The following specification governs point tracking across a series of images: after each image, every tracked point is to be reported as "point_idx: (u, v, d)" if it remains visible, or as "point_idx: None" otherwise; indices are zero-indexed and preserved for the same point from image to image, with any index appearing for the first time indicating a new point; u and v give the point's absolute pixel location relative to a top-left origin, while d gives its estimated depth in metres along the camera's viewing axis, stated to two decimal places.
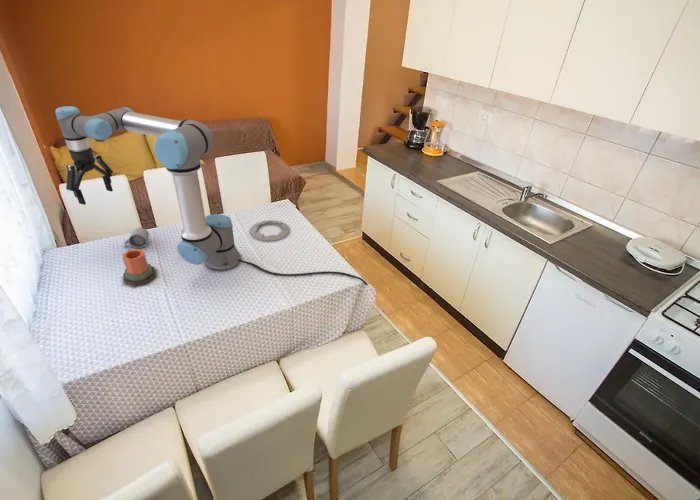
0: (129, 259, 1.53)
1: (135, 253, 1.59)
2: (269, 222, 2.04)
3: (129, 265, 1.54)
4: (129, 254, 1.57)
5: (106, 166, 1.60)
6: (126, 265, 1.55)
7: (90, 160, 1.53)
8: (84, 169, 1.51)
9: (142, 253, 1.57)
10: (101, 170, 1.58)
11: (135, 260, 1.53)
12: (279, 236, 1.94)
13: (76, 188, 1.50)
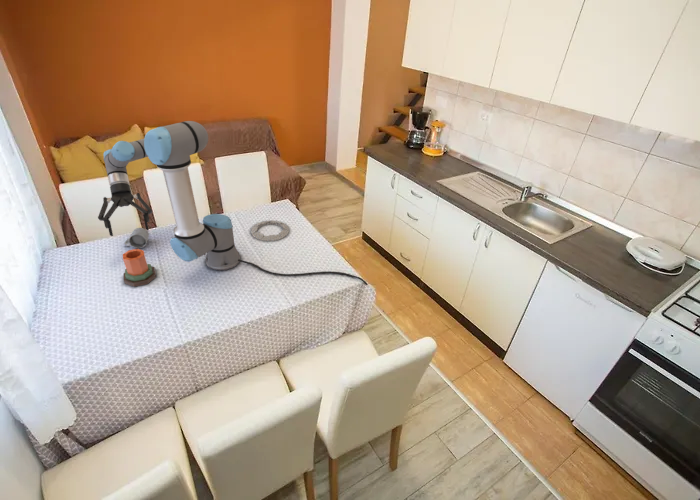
0: (129, 259, 1.53)
1: (135, 253, 1.59)
2: (269, 222, 2.04)
3: (129, 265, 1.54)
4: (129, 254, 1.57)
5: (144, 204, 1.64)
6: (126, 265, 1.55)
7: (126, 195, 1.62)
8: (116, 201, 1.60)
9: (142, 253, 1.57)
10: (137, 206, 1.63)
11: (135, 260, 1.53)
12: (279, 236, 1.94)
13: (104, 217, 1.57)
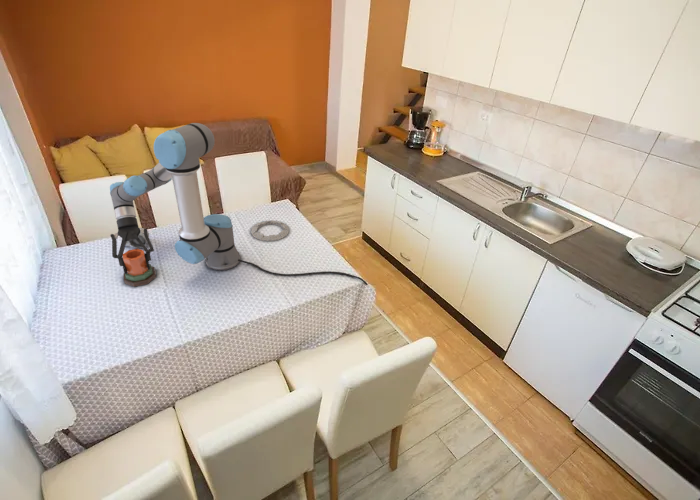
0: (129, 259, 1.53)
1: (135, 253, 1.59)
2: (269, 222, 2.04)
3: (129, 265, 1.54)
4: (129, 254, 1.57)
5: (148, 241, 1.60)
6: (126, 265, 1.55)
7: (133, 229, 1.58)
8: (124, 236, 1.56)
9: (142, 253, 1.57)
10: (141, 243, 1.58)
11: (135, 260, 1.53)
12: (279, 236, 1.94)
13: (118, 255, 1.54)
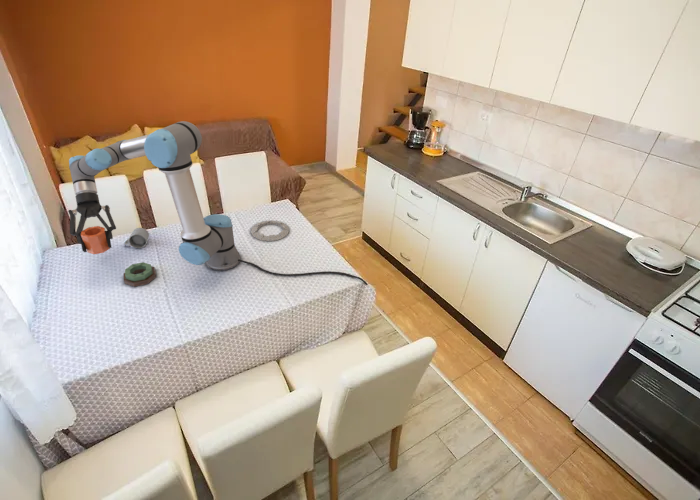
0: (87, 236, 1.45)
1: (95, 231, 1.50)
2: (269, 222, 2.04)
3: (88, 242, 1.46)
4: (89, 231, 1.49)
5: (109, 218, 1.51)
6: (85, 243, 1.47)
7: (93, 205, 1.50)
8: (83, 212, 1.48)
9: (103, 230, 1.49)
10: (101, 220, 1.50)
11: (94, 237, 1.45)
12: (279, 236, 1.94)
13: (76, 232, 1.46)
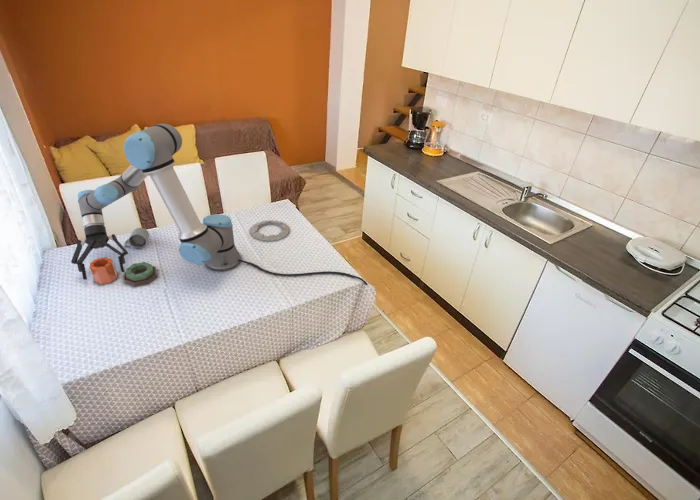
0: (96, 268, 1.53)
1: (103, 261, 1.59)
2: (269, 222, 2.04)
3: (96, 274, 1.54)
4: (97, 263, 1.58)
5: (119, 245, 1.60)
6: (93, 274, 1.55)
7: (101, 237, 1.58)
8: (90, 244, 1.56)
9: (110, 261, 1.57)
10: (112, 248, 1.59)
11: (102, 268, 1.54)
12: (279, 236, 1.94)
13: (78, 261, 1.54)
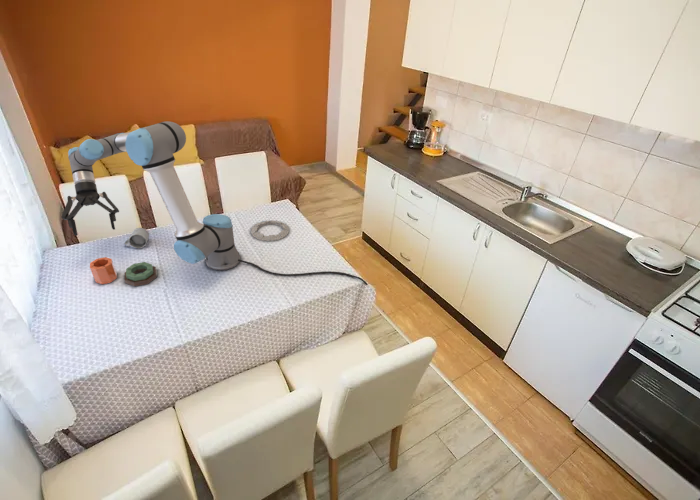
0: (96, 268, 1.53)
1: (103, 261, 1.59)
2: (269, 222, 2.04)
3: (96, 274, 1.54)
4: (97, 263, 1.58)
5: (110, 202, 1.61)
6: (93, 274, 1.55)
7: (91, 194, 1.59)
8: (80, 200, 1.57)
9: (110, 261, 1.57)
10: (103, 205, 1.60)
11: (102, 268, 1.54)
12: (279, 236, 1.94)
13: (68, 216, 1.54)
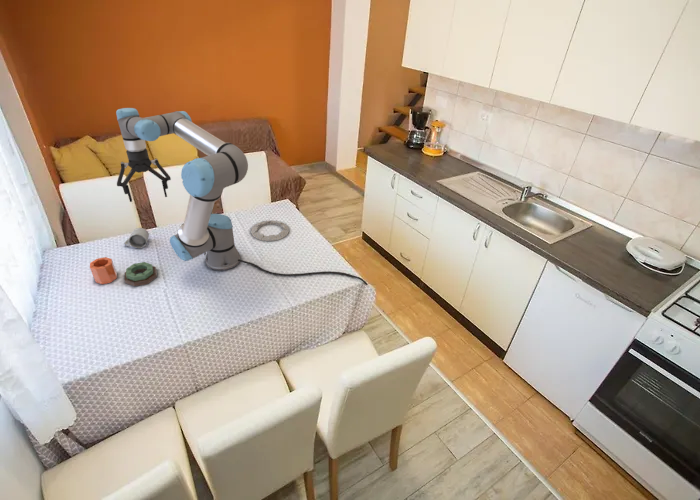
0: (96, 268, 1.53)
1: (103, 261, 1.59)
2: (269, 222, 2.04)
3: (96, 274, 1.54)
4: (97, 263, 1.58)
5: (163, 172, 1.59)
6: (93, 274, 1.55)
7: (144, 162, 1.54)
8: (134, 169, 1.53)
9: (110, 261, 1.57)
10: (156, 174, 1.58)
11: (102, 268, 1.54)
12: (279, 236, 1.94)
13: (123, 185, 1.55)
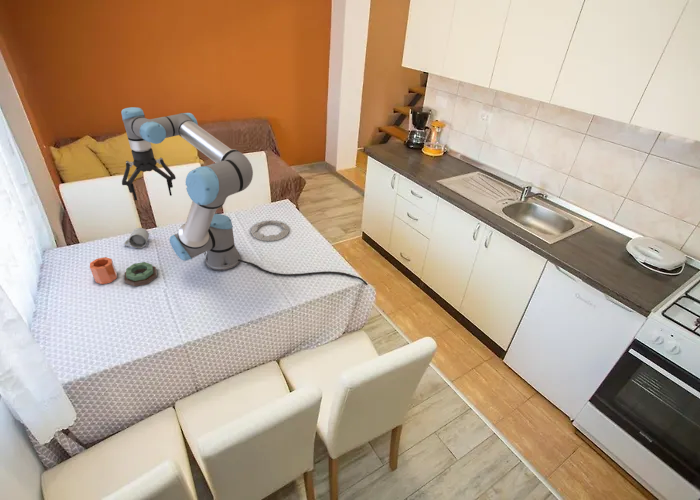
0: (96, 268, 1.53)
1: (103, 261, 1.59)
2: (269, 222, 2.04)
3: (96, 274, 1.54)
4: (97, 263, 1.58)
5: (168, 171, 1.59)
6: (93, 274, 1.55)
7: (149, 162, 1.54)
8: (139, 168, 1.53)
9: (110, 261, 1.57)
10: (161, 173, 1.58)
11: (102, 268, 1.54)
12: (279, 236, 1.94)
13: (128, 184, 1.55)
